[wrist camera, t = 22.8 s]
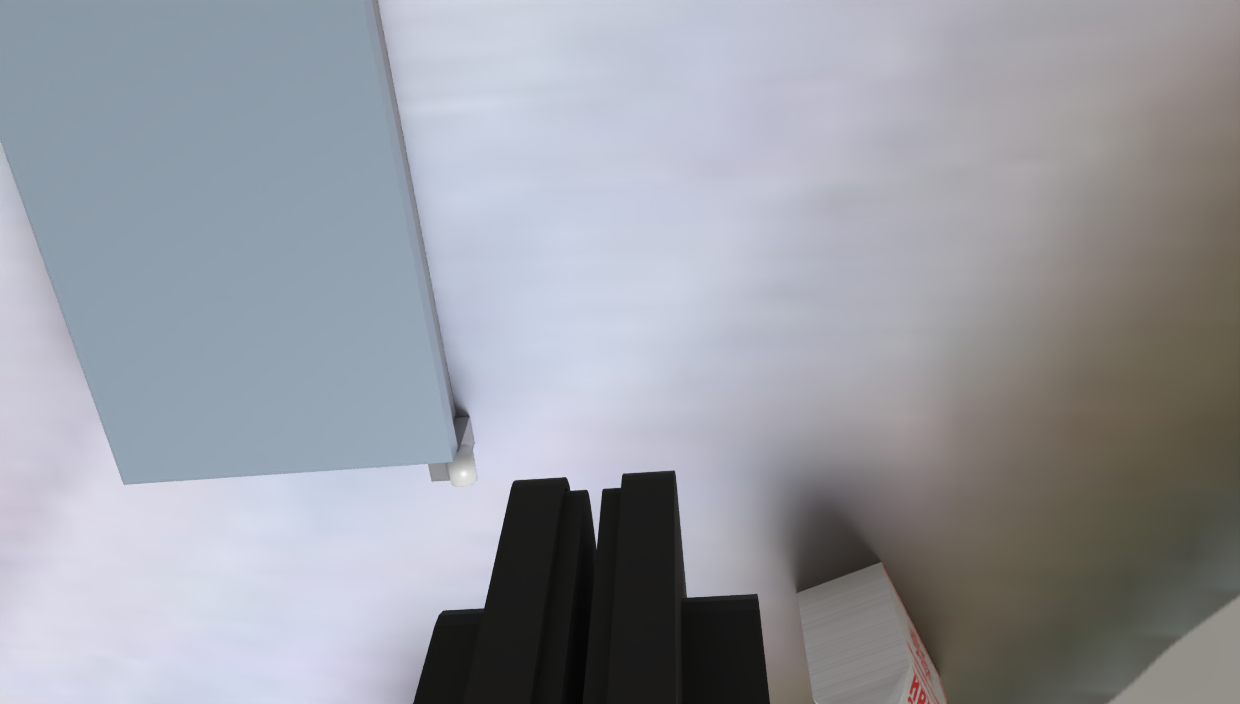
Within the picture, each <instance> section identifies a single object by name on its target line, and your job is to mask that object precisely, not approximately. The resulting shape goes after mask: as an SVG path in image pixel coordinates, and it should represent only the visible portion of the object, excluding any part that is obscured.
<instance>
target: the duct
mask: <svg viewBox="0 0 1240 704" xmlns="http://www.w3.org/2000/svg"><path fill="white" fill-rule="evenodd" d="M372 4H373V9H374V15H375V20H376V25H377V30H378V35H379V40H380V46H381V51H382V56H383V61H384V66H385V72H386V77H387V82H388V87H389V92H390V98H391V103H392V108H393V113H394V118H395V124H396V129H397V134H398V139H399V144H400V150H401V155H402V160H403V165H404V170H405V175H406V181H407V186H408V191H409V196H410V201H411V207H412V212H413V217H414V222H415V227H416V233H417V238H418V243H419V248H420V253H421V259H422V264H423V269H424V274H425V279H426V284H427V290H428V295H429V300H430V305H431V310H432V316H433V321H434V326H435V331H436V336H437V342H438V347H439V352H440V357H441V362H442V368H443V373H444V378H445V383H446V388H447V394H448V399H449V404H450V409H451V414H452V419H453V425H454V430H455V435H456V440H457V445H458V448H457V451H456V455H455V458H454V461H453V462H446V463H432V464H428V466H429V471H430V475H431V480H432V481H449V480H450V483H451V484H452V485H453V486H455V487H467V486H470V485H472V484H474V483H475V482H476V481H477V479H478V476H477V471H476V465H475V460H474V454H473V447H474V444H475V442H474V437H473V432H472V426H471V421H470V416H469V417H455V414H456V411H455V405H454V400H453V395H452V390H451V384H450V379H449V374H448V369H447V363H446V358H445V353H444V348H443V342H442V337H441V332H440V327H439V321H438V316H437V311H436V306H435V300H434V295H433V290H432V285H431V279H430V274H429V269H428V264H427V258H426V253H425V248H424V243H423V237H422V232H421V227H420V222H419V216H418V211H417V206H416V201H415V195H414V190H413V185H412V180H411V174H410V169H409V164H408V159H407V153H406V148H405V143H404V138H403V132H402V127H401V122H400V117H399V111H398V106H397V101H396V96H395V90H394V85H393V80H392V75H391V69H390V64H389V59H388V53H387V48H386V43H385V38H384V32H383V27H382V22H381V17H380V11H379V6H378V1H377V0H372Z"/></svg>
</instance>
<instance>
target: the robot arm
mask: <svg viewBox="0 0 1240 704" xmlns="http://www.w3.org/2000/svg"><path fill="white" fill-rule="evenodd" d="M413 704H770V700H769V691H768V682H767V673H766V664H765V655H764V646H763V637H762V628H761V618H760V609H759V601H758V595H757V594H750V595H731V596H712V597H693V598H687V594H686V583H685V572H684V561H683V550H682V538H681V527H680V516H679V505H678V494H677V484H676V475H675V471H660V472H644V473H628V474H623V475H622V483H621V488H611V489H603V491H602V500H601V511H600V521H599V532H598V543H597V549H596V542H595V534H594V527H593V519H592V512H591V504H590V498H589V493H588V491H587V490H578V491H570V486H569V483H568V480H567V478H566V477H563V478H547V479H530V480H515V481H514V482H513V484H512V487H511V491H510V495H509V500H508V504H507V509H506V513H505V518H504V522H503V527H502V531H501V536H500V540H499V545H498V549H497V554H496V558H495V563H494V567H493V572H492V576H491V581H490V585H489V590H488V594H487V599H486V603H485V608H484V609H465V610H446V611H443V612H442V613H441V614H440V615H439V616H438V619H437V621H436V624H435V627H434V630H433V634H432V637H431V641H430V645H429V648H428V652H427V655H426V659H425V663H424V666H423V670H422V673H421V677H420V681H419V684H418V688H417V692H416V695H415V699H414V702H413Z"/></svg>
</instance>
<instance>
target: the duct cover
mask: <svg viewBox="0 0 1240 704" xmlns="http://www.w3.org/2000/svg"><path fill="white" fill-rule="evenodd" d="M0 140H1V143H2V146H3V149H4V151H5V154H6V157H7V160H8V162H9V165H10V168H11V171H12V174H13V176H14V179H15V182H16V185H17V188H18V190H19V193H20V196H21V199H22V202H23V204H24V207H25V210H26V213H27V216H28V218H29V221H30V224H31V227H32V230H33V232H34V235H35V238H36V241H37V244H38V246H39V249H40V252H41V255H42V258H43V260H44V263H45V266H46V269H47V272H48V274H49V277H50V280H51V283H52V286H53V288H54V291H55V294H56V297H57V299H58V302H59V305H60V308H61V311H62V313H63V316H64V319H65V322H66V325H67V327H68V330H69V333H70V336H71V339H72V341H73V344H74V347H75V350H76V353H77V355H78V358H79V361H80V364H81V367H82V369H83V372H84V375H85V378H86V381H87V383H88V386H89V389H90V392H91V395H92V397H93V400H94V403H95V406H96V409H97V411H98V414H99V417H100V420H101V423H102V425H103V428H104V431H105V434H106V436H107V439H108V442H109V445H110V448H111V450H112V453H113V456H114V459H115V462H116V464H117V467H118V470H119V473H120V476H121V478H122V481H123V484H124V485H126V484H141V483H155V482H170V481H184V480H199V479H214V478H228V477H243V476H257V475H272V474H286V473H301V472H315V471H330V470H345V469H359V468H374V467H388V466H403V465H417V464H432V463H446V462H453V461H454V458H455V455H456V451H457V448H458V445H457V440H456V435H455V430H454V425H453V419H452V414H451V409H450V404H449V399H448V394H447V388H446V383H445V378H444V373H443V368H442V362H441V357H440V352H439V347H438V342H437V336H436V331H435V326H434V321H433V316H432V310H431V305H430V300H429V295H428V290H427V284H426V279H425V274H424V269H423V264H422V259H421V253H420V248H419V243H418V238H417V233H416V227H415V222H414V217H413V212H412V207H411V201H410V196H409V191H408V186H407V181H406V175H405V170H404V165H403V160H402V155H401V150H400V144H399V139H398V134H397V129H396V124H395V118H394V113H393V108H392V103H391V98H390V92H389V87H388V82H387V77H386V72H385V66H384V61H383V56H382V51H381V46H380V40H379V35H378V30H377V25H376V20H375V15H374V9H373V4H372V0H0Z"/></svg>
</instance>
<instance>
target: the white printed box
mask: <svg viewBox="0 0 1240 704" xmlns="http://www.w3.org/2000/svg"><path fill="white" fill-rule="evenodd" d="M797 599H798V605H799V611H800V618H801V624H802V631H803V637H804V643H805V650H806V656H807V662H808V669H809V675H810V682H811V688H812V694H813V699H814V701H815V703H816V704H948V702H947V699H946V696H945V693H944V689H943V686H942V683H941V679H940V677H939V675H938V673H937V671H936V669H935V667H934V665H933V663H932V661H931V659H930V657H929V655H928V653H927V651H926V649H925V647H924V645H923V643H922V641H921V639H920V637H919V635H918V633H917V631H916V629H915V627H914V625H913V623H912V621H911V619H910V617H909V615H908V613H907V611H906V609H905V607H904V605H903V603H902V601H901V599H900V597H899V595H898V593H897V591H896V589H895V587H894V585H893V583H892V581H891V579H890V577H889V575H888V573H887V571H886V569H885V567H884V565H883V563H882V562H880V563H877V564H874V565H872V566H869V567H866V568H864V569H861V570H858V571H855V572H853V573H850V574H847V575H845V576H842V577H839V578H836V579H834V580H831V581H828V582H825V583H823V584H820V585H817V586H815V587H812V588H809V589H806V590H804V591H801V592H798V593H797Z"/></svg>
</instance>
